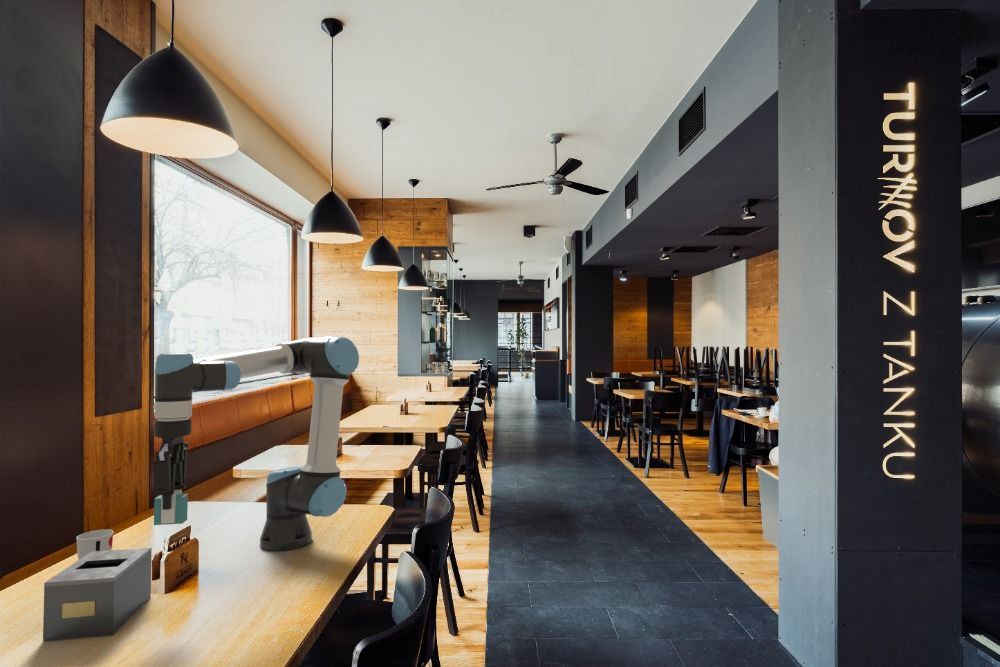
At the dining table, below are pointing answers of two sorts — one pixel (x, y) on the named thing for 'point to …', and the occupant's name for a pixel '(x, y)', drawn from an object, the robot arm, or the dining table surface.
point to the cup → (94, 542)
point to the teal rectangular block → (179, 510)
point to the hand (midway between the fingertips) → (171, 520)
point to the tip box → (96, 594)
